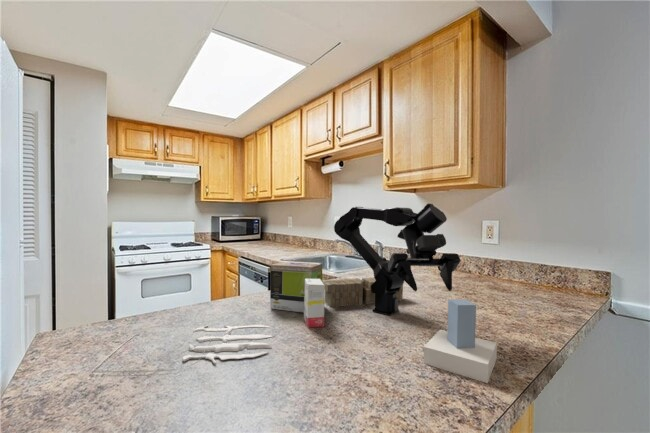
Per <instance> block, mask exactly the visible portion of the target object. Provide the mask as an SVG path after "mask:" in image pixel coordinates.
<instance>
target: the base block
mask: <svg viewBox="0 0 650 433" xmlns="http://www.w3.org/2000/svg"><path fill="white" fill-rule="evenodd" d="M497 345H498V342H496V341H491V340H486V339H483V338H478V337H475V348H456V347H455V346H454V345H452V344H451V343H450V342H449V341H448V340H447V330H444V329H439V330H438V331H437V332H436V333H435V334H434V335H433V336H432V337H431V338H430V339H429V341H428V342H427V343H426V344H424V346H423V364H425V365H427V366H431V367H435V368H437V369H440V370H444V371H447V372H450V373H453V374H456V375H460V376H464V377H466V378H469V379H473V380H476V381H479V382H482V383H486V384H488V383H489V381H490V378H491V375H492V372H493V370H494V367H495V364H496V362H497V358H498V357H497V356H498V346H497Z"/></svg>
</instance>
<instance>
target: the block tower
mask: <svg viewBox="0 0 650 433" xmlns="http://www.w3.org/2000/svg"><path fill="white" fill-rule="evenodd" d="M375 281H376V280H375V278H374V276H373V277H362V279H360V278H340V279H329V280H326V279H323V278H322V282H323V284H324V285H325V294H324V303H326V304H327V305H328V306H329V307H345V306H347V307H348V306H357V305H363V303H364V304H366V305H367V304H375V293H372V291H371V285H372V284H373V283H374V282H375ZM403 291H404V284H403V285H402V286H401V288H400V291H399V292H396V293H397V298H398V302H402V301H403V294H404V292H403Z"/></svg>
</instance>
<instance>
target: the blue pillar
mask: <svg viewBox="0 0 650 433" xmlns="http://www.w3.org/2000/svg"><path fill="white" fill-rule="evenodd" d="M447 302H448V304H447V329H446V331H447V340H448V341H449V342H450V343H451V344H452V345H454V346H455V347H456V348H475V338H476V325H477V324H476V322H477V317H476V316H477V305H476V304H475V303H473V302H471V301H469V300H467V299H448V300H447Z"/></svg>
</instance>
